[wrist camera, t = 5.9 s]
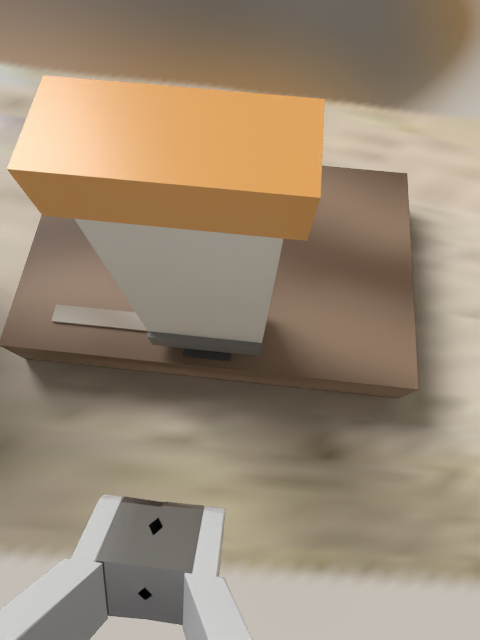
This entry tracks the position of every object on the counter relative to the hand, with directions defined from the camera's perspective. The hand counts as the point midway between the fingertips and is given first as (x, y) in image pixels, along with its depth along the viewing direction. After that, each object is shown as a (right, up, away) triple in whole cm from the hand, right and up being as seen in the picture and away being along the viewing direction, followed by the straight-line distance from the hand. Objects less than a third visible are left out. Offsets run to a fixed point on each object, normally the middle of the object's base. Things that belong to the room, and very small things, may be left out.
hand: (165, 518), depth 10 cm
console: (+1, +7, +9) cm, 11 cm away
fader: (+1, +5, +5) cm, 7 cm away
